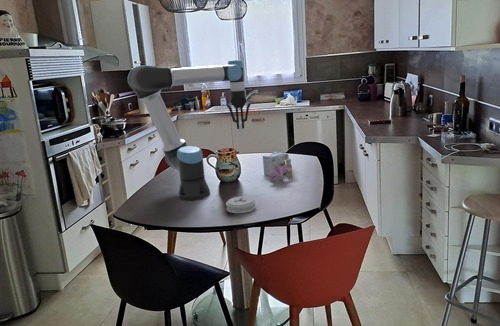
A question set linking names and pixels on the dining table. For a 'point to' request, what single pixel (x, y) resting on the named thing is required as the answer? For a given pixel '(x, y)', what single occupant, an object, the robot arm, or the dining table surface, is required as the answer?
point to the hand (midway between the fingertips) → (241, 134)
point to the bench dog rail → (288, 164)
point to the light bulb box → (272, 162)
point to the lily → (278, 172)
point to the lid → (241, 204)
